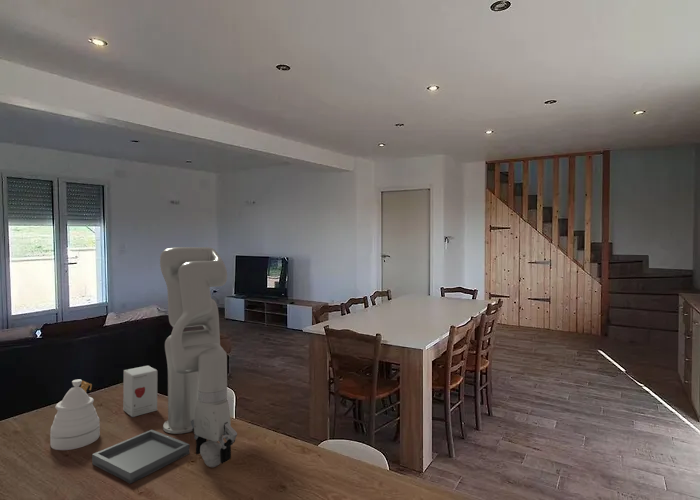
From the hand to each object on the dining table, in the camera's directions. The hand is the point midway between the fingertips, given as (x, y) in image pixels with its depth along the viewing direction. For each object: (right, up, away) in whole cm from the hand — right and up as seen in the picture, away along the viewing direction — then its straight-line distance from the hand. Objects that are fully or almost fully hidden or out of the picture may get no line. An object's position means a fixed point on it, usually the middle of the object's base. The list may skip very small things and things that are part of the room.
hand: (213, 456), depth 116 cm
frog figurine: (0, -3, 0) cm, 3 cm away
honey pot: (-48, -2, +15) cm, 50 cm away
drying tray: (-22, -3, +4) cm, 22 cm away
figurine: (-58, -2, +34) cm, 68 cm away
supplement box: (-39, -2, +37) cm, 54 cm away
